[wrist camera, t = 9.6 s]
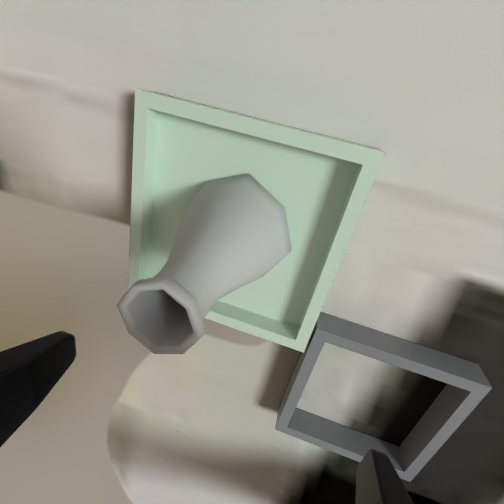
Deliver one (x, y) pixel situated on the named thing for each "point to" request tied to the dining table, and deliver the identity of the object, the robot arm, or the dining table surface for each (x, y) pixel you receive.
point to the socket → (398, 354)
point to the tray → (272, 179)
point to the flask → (207, 262)
